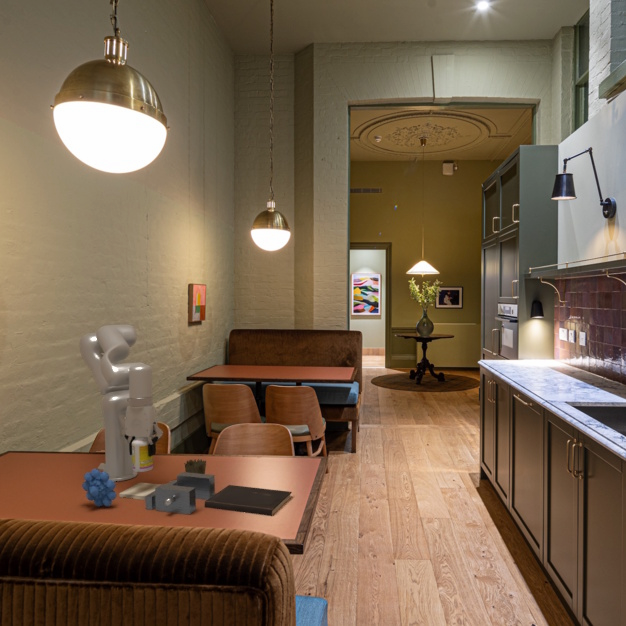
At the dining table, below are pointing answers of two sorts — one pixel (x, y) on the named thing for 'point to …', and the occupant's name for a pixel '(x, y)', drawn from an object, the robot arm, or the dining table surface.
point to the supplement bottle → (141, 455)
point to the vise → (181, 493)
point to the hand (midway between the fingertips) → (142, 454)
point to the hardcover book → (248, 500)
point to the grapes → (99, 488)
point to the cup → (195, 466)
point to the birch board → (139, 491)
